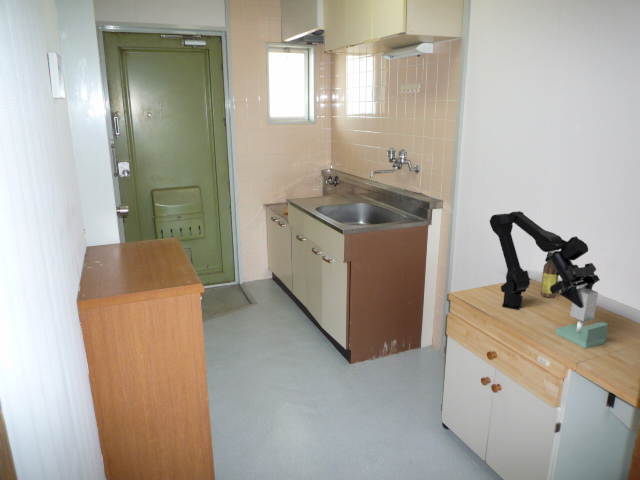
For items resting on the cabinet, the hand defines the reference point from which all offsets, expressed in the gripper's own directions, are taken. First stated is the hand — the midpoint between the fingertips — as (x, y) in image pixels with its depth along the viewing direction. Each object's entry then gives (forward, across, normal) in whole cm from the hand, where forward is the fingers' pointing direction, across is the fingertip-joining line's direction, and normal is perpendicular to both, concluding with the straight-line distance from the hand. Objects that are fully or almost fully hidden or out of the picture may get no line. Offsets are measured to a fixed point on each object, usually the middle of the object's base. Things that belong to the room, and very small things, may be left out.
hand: (587, 306), depth 162 cm
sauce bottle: (-15, +23, +33) cm, 43 cm away
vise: (+8, 0, +10) cm, 13 cm away
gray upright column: (+2, 0, +4) cm, 5 cm away
